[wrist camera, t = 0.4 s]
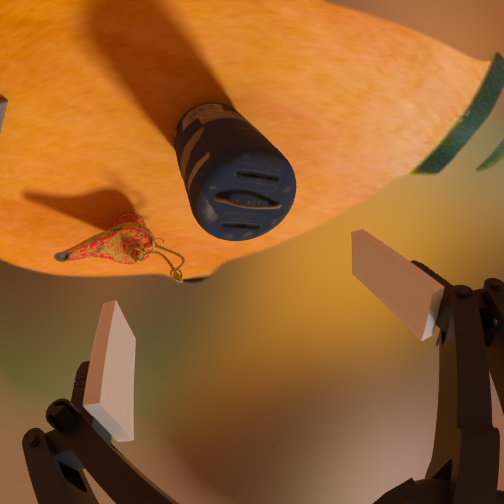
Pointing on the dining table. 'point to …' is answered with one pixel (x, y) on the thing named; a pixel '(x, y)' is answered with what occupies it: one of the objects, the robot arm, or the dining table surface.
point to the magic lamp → (121, 245)
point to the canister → (232, 173)
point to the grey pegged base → (2, 111)
